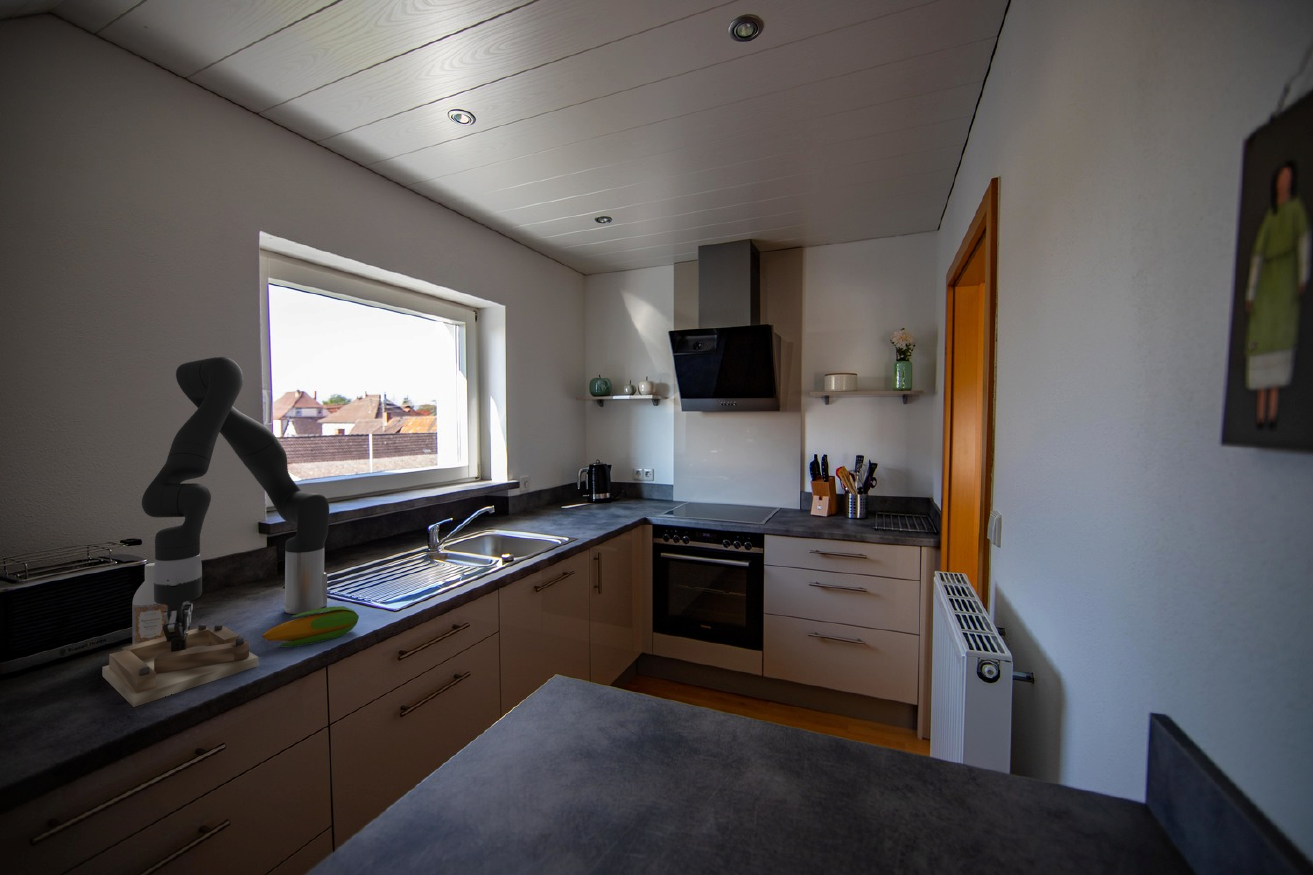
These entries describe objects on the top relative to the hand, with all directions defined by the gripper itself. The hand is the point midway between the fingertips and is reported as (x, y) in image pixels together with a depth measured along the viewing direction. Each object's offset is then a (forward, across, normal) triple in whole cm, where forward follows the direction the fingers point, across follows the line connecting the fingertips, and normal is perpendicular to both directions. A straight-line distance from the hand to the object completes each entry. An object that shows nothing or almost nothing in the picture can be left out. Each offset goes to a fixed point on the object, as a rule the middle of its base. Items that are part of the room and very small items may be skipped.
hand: (178, 655), depth 112 cm
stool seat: (+3, 0, +1) cm, 3 cm away
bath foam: (+4, -16, -7) cm, 18 cm away
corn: (+4, -5, +24) cm, 25 cm away
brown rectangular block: (+1, +3, +5) cm, 6 cm away
